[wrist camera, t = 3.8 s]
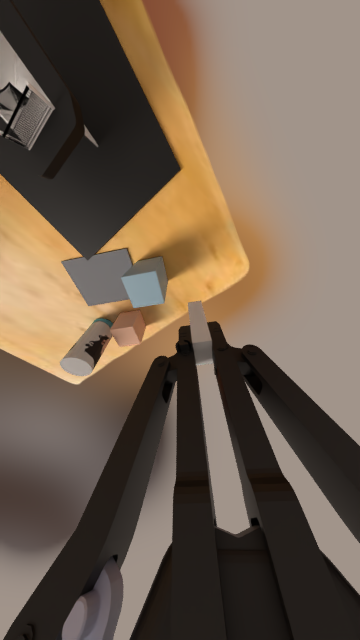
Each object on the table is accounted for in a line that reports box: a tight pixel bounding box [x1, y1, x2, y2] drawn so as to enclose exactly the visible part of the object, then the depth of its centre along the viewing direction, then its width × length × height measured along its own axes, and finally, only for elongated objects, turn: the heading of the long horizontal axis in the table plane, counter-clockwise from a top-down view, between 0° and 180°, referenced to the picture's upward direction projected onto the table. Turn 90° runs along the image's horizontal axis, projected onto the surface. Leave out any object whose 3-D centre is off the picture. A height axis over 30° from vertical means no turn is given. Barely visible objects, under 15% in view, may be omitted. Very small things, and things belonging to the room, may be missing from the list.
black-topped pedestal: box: [0, 0, 180, 261], centre depth 17 cm, size 28×26×13 cm
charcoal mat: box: [61, 248, 133, 306], centre depth 36 cm, size 16×12×1 cm
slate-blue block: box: [121, 256, 168, 308], centre depth 30 cm, size 6×6×12 cm
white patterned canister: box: [60, 318, 113, 376], centre depth 38 cm, size 7×7×15 cm
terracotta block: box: [110, 310, 146, 347], centre depth 40 cm, size 6×6×8 cm
